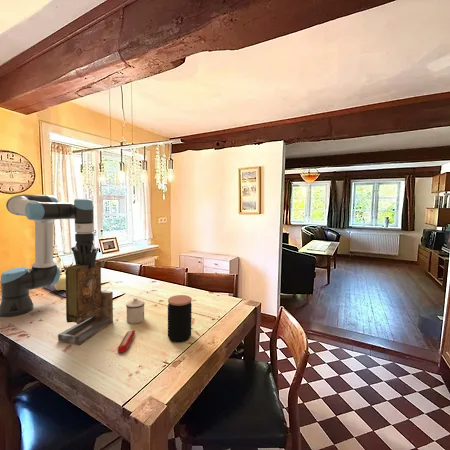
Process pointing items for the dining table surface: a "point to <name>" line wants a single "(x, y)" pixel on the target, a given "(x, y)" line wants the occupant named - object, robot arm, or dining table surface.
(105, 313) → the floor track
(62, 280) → the sculpture
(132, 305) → the teacup with lid
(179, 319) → the coffee jar
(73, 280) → the book
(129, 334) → the candy bar
